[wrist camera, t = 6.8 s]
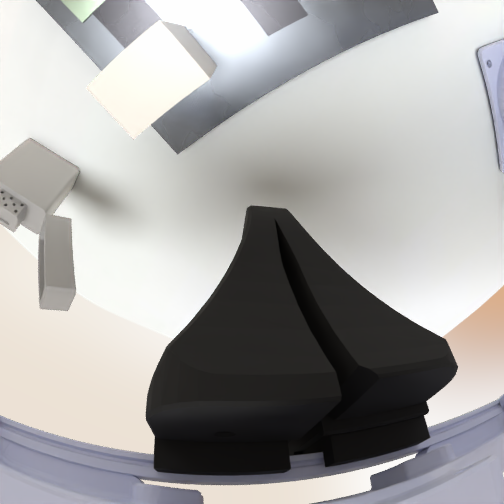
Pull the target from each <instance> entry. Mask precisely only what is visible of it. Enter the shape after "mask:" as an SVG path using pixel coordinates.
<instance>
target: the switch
mask: <svg viewBox="0 0 504 504" xmlns="http://www.w3.org/2000/svg"><path fill="white" fill-rule="evenodd" d="M216 66H217V65H216V64H215V63H214V61H213V60H212V59H211V58H210V57H209V55H208V54H207V53H206V52H205V51H204V49H203V48H202V47H201V46H200V45H199V43H198V42H197V41H196V40H195V39H194V37H193V36H192V35H191V34H190V33H189V32H188V31H187V29H186V28H185V27H184V26H183V25H180V24H175V23H171V22H166V21H162V20H159V21H158V22H156V23H155V24H154V25H153V26H151V27H150V28H149V29H148V30H146V31H145V32H144V33H143V34H142V35H140V36H139V37H138V38H137V39H136V40H135V41H133V42H132V43H131V44H130V45H129V46H128V47H127V48H125V49H124V50H123V51H122V52H121V53H120V54H119V55H118V56H117V57H116V58H115V59H114V60H113V61H112V62H110V63H109V64H108V65H107V66H106V67H105V68H104V69H103V70H102V71H101V72H100V73H99V74H98V75H97V76H96V78H95V79H94V80H93V81H92V82H91V83H90V84H89V85H88V86H87V87H86V89H87V90H88V91H89V92H90V93H91V94H92V96H93V97H94V98H95V99H96V100H97V101H98V102H99V103H100V104H101V105H102V106H103V107H104V108H105V110H106V111H107V112H108V113H109V114H110V115H111V116H112V117H113V118H114V119H115V120H116V121H117V122H118V124H119V125H120V126H121V127H122V128H123V129H124V130H125V131H126V132H127V133H128V134H129V135H130V136H131V137H132V139H133V140H134V139H135V138H136V137H137V136H138V135H139V134H141V133H142V132H143V131H144V130H145V129H146V128H148V127H149V126H150V125H151V124H152V123H153V122H155V121H156V120H157V119H158V118H159V117H161V116H162V115H163V114H164V113H166V112H167V111H168V110H169V109H171V108H172V107H173V106H174V105H176V104H177V103H178V102H179V101H181V100H182V99H183V98H185V97H186V96H187V95H189V94H190V93H191V92H193V91H194V90H195V89H197V88H198V87H200V86H201V85H202V84H204V83H205V82H207V81H208V80H209V79H210V78H211V76H212V74H213V72H214V70H215V68H216Z"/></svg>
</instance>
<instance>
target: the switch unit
mask: <svg viewBox="0 0 504 504" xmlns="http://www.w3.org/2000/svg"><path fill="white" fill-rule="evenodd" d="M36 1H37V2H38V3H39V4H40V5H41V6H42V7H43V8H44V9H45V10H46V12H47V13H48V14H49V15H50V16H51V17H52V18H53V19H54V20H55V21H56V22H57V23H58V24H59V25H60V26H61V28H62V29H63V30H64V31H65V32H66V33H67V34H68V35H69V36H70V37H71V38H72V39H73V40H74V41H75V43H76V44H77V45H78V46H79V47H80V48H81V49H82V50H83V51H84V52H85V53H86V54H87V56H88V57H89V58H90V59H91V60H92V61H93V62H94V63H95V64H96V65H97V66H98V67H99V69H100V70H101V71H102V70H103V69H104V68H105V67H106V66H107V65H108V64H109V63H110V62H112V61H113V60H114V59H115V58H116V57H117V56H118V55H119V54H120V53H121V52H122V51H123V50H124V49H125V48H127V47H128V46H129V45H130V44H131V43H132V42H133V41H135V40H136V39H137V38H138V37H139V36H140V35H142V34H143V33H144V32H145V31H146V30H148V29H149V28H150V27H151V26H153V25H154V24H155V23H156V22H158V21H159V20H162V21H166V22H171V23H175V24H180V25H183V26H184V27H185V28H186V29H187V31H188V32H189V33H190V34H191V35H192V36H193V37H194V39H195V40H196V41H197V42H198V43H199V45H200V46H201V47H202V48H203V49H204V51H205V52H206V53H207V54H208V55H209V57H210V58H211V59H212V60H213V61H214V63H215V64H216V65H217V66H216V68H215V70H214V72H213V74H212V76H211V78H210V79H209V80H208V81H207V82H205V83H204V84H202V85H201V86H200V87H198V88H197V89H195V90H194V91H193V92H191V93H190V94H189V95H187V96H186V97H185V98H183V99H182V100H181V101H179V102H178V103H177V104H176V105H174V106H173V107H172V108H171V109H169V110H168V111H167V112H166V113H164V114H163V115H162V116H161V117H159V118H158V119H157V120H156V121H155V122H153V123H152V124H151V126H152V127H153V128H154V129H155V130H156V131H157V132H158V133H159V134H160V135H161V137H162V138H163V139H164V140H165V141H166V142H167V143H168V144H169V145H170V147H171V148H172V149H173V150H174V151H175V152H176V153H177V154H179V153H180V152H182V151H183V150H184V149H185V148H187V147H188V146H190V145H191V144H192V143H194V142H195V141H196V140H198V139H199V138H200V137H202V136H203V135H205V134H206V133H207V132H209V131H210V130H212V129H213V128H215V127H216V126H217V125H219V124H220V123H222V122H223V121H225V120H226V119H228V118H229V117H231V116H232V115H234V114H235V113H237V112H238V111H240V110H241V109H243V108H244V107H246V106H247V105H249V104H251V103H252V102H254V101H255V100H257V99H259V98H260V97H262V96H263V95H265V94H267V93H268V92H270V91H272V90H273V89H275V88H277V87H278V86H280V85H282V84H283V83H285V82H287V81H289V80H290V79H292V78H294V77H296V76H297V75H299V74H301V73H303V72H305V71H306V70H308V69H310V68H312V67H314V66H316V65H318V64H320V63H321V62H323V61H325V60H327V59H329V58H331V57H333V56H335V55H337V54H339V53H341V52H343V51H345V50H347V49H349V48H352V47H354V46H356V45H358V44H360V43H362V42H365V41H367V40H369V39H371V38H374V37H376V36H378V35H380V34H383V33H385V32H388V31H390V30H393V29H395V28H398V27H400V26H403V25H405V24H408V23H410V22H413V21H416V20H419V19H421V18H424V17H427V16H430V15H433V14H436V13H438V10H437V8H436V6H435V4H434V2H433V0H36Z"/></svg>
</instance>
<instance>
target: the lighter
mask: <svg viewBox="0 0 504 504" xmlns="http://www.w3.org/2000/svg"><path fill="white" fill-rule="evenodd" d="M79 172H80V170H79V168H78V167H77V166H75V165H73V164H72V163H70V162H68V161H67V160H65V159H63V158H62V157H60V156H58V155H57V154H55V153H54V152H52V151H50V150H49V149H47V148H45V147H44V146H42V145H41V144H39V143H37V142H36V141H34V140H32V139H31V138H29V139H27V140H26V141H24V142H23V143H22V144H21V145H19V146H18V147H17V148H15V149H14V150H13V151H12V152H10V153H9V154H8V155H7V156H6V157H4V158H3V159H2V160H1V161H0V224H2V225H3V226H5V227H6V228H8V229H9V230H11V231H12V232H15V231H16V229H17V228H18V227H19V225H20V224H21V225H23V226H24V227H26V228H28V229H29V230H31V231H32V232H34V233H36V234H39V250H38V280H39V303H40V308H41V309H48V310H61V311H62V310H63V311H68V310H69V308H70V305H71V303H72V301H73V299H74V297H75V293H76V285H75V275H74V264H73V250H72V227H71V219H70V218H65V217H60V216H55V215H53V214H54V213H55V211H56V210H57V208H58V207H59V206H60V204H61V203H62V202H63V200H64V199H65V198H66V196H67V195H68V194H69V192H70V191H71V190H72V188H73V186H74V183H75V181H76V179H77V177H78V174H79Z"/></svg>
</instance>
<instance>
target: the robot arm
mask: <svg viewBox="0 0 504 504" xmlns="http://www.w3.org/2000/svg"><path fill="white" fill-rule="evenodd" d="M478 58H479V61H480V64H481V68H482V71H483V75H484V78H485V82H486V86H487V90H488V95H489V99H490V104H491V109H492V114H493V119H494V125H495V131H496V138H497V145H498V153H499V162H500V170H501V171H502V172H503V173H504V39H503V40H500V41H497V42H494V43H492V44H489V45H486V46H484V47H481V48H480V49H479V50H478ZM487 61H488V64H486V62H487ZM457 369H458V366H457V363H456V361H455V359H454V356H453V354H452V352H451V349H450V347H449V345H448V343H447V341H446V339H444V338H442V337H440V336H438V335H436V334H435V333H433V332H431V331H429V330H427V329H425V328H423V327H421V326H420V325H418V324H416V323H414V322H413V321H411V320H410V319H408V318H406V317H405V316H403V315H402V314H400V313H398V312H397V311H395V310H394V309H392V308H391V307H389V306H388V305H387V304H385V303H384V302H382V301H381V300H380V299H378V298H377V297H376V296H374V295H373V294H372V293H370V292H369V291H368V290H366V289H365V288H364V287H363V286H361V285H360V284H359V283H358V282H357V281H356V280H354V279H353V278H352V277H351V276H350V275H349V274H347V273H346V272H345V271H344V270H343V269H342V268H341V267H340V266H339V265H338V264H337V263H336V262H335V261H334V260H333V259H332V258H331V257H330V256H329V255H328V254H327V253H326V252H325V251H324V250H323V249H322V248H321V247H320V246H319V245H318V244H317V243H316V242H315V240H314V239H313V238H312V237H311V236H310V235H309V234H308V233H307V231H306V230H305V229H304V228H303V227H302V226H301V224H300V223H299V222H298V221H297V220H296V219H295V218H294V216H293V215H292V214H291V213H290V212H289V211H288V210H287V209H282V208H272V207H262V206H249V207H248V208H247V211H246V217H245V223H244V229H243V235H242V240H241V243H240V245H239V247H238V250H237V252H236V254H235V256H234V259H233V260H232V262H231V264H230V266H229V268H228V270H227V272H226V273H225V275H224V277H223V278H222V280H221V281H220V283H219V285H218V286H217V288H216V289H215V291H214V292H213V294H212V295H211V296H210V298H209V299H208V300H207V302H206V303H205V304H204V305H203V307H202V308H201V309H200V310H199V312H198V313H197V314H196V315H195V317H194V318H193V319H192V320H191V321H190V323H189V324H188V325H187V326H186V327H185V328H184V329H183V330H182V331H181V332H180V333H179V334H178V335H177V336H176V337H175V338H174V339H173V340H172V341H171V343H169V345H168V346H167V347H166V349H165V351H164V353H163V355H162V357H161V359H160V361H159V363H158V365H157V368H156V370H155V372H154V375H153V377H152V380H151V384H150V387H149V391H148V396H147V406H146V421H147V423H148V424H149V426H150V428H151V430H152V432H153V434H154V435H155V445H154V454H145V453H138V452H131V451H125V450H119V449H113V448H108V447H103V446H98V445H93V444H89V443H85V442H80V441H76V440H73V439H69V438H65V437H61V436H58V435H54V434H51V433H48V432H44V431H41V430H38V429H35V428H32V427H29V426H26V425H24V424H21V423H18V422H15V421H13V420H10V419H7V418H5V417H3V416H0V504H203V496H202V495H201V493H200V492H199V491H198V490H188V489H179V488H171V487H164V486H157V485H149V484H144V482H143V481H141V480H140V479H143V480H151V481H159V482H168V483H180V484H198V485H250V484H268V483H280V482H289V481H298V480H306V479H312V478H319V477H324V476H331V475H336V474H341V473H346V472H351V471H355V470H359V469H363V468H368V467H372V466H376V465H379V464H383V463H386V462H390V461H393V460H397V459H400V458H403V457H406V456H409V455H412V454H415V453H417V454H416V456H415V458H413V459H410V460H408V461H405V462H403V463H401V464H399V465H397V466H395V467H393V468H390V469H388V470H385V471H382V472H379V473H377V474H374V475H371V477H370V480H371V486H372V488H371V490H370V491H366V492H363V493H359V494H355V495H351V496H347V497H342V498H338V499H333V500H329V501H323V502H318V503H312V504H504V478H503V472H504V394H503V395H502V396H501V397H500V398H499V399H497V400H495V401H493V402H491V403H489V404H487V405H484V406H482V407H480V408H478V409H475V410H473V411H471V412H469V413H466V414H464V415H461V416H458V417H456V418H453V419H450V420H448V421H445V422H442V423H439V424H436V425H434V426H431V427H427V425H426V421H425V418H424V415H426V414H427V413H428V412H429V409H428V406H427V402H426V401H427V400H428V399H430V398H431V397H432V396H433V395H435V394H436V393H437V392H439V391H440V390H441V389H442V388H444V387H445V386H446V385H447V384H448V383H449V382H450V381H451V380H452V378H453V377H454V376H455V375H456V372H457Z"/></svg>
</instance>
